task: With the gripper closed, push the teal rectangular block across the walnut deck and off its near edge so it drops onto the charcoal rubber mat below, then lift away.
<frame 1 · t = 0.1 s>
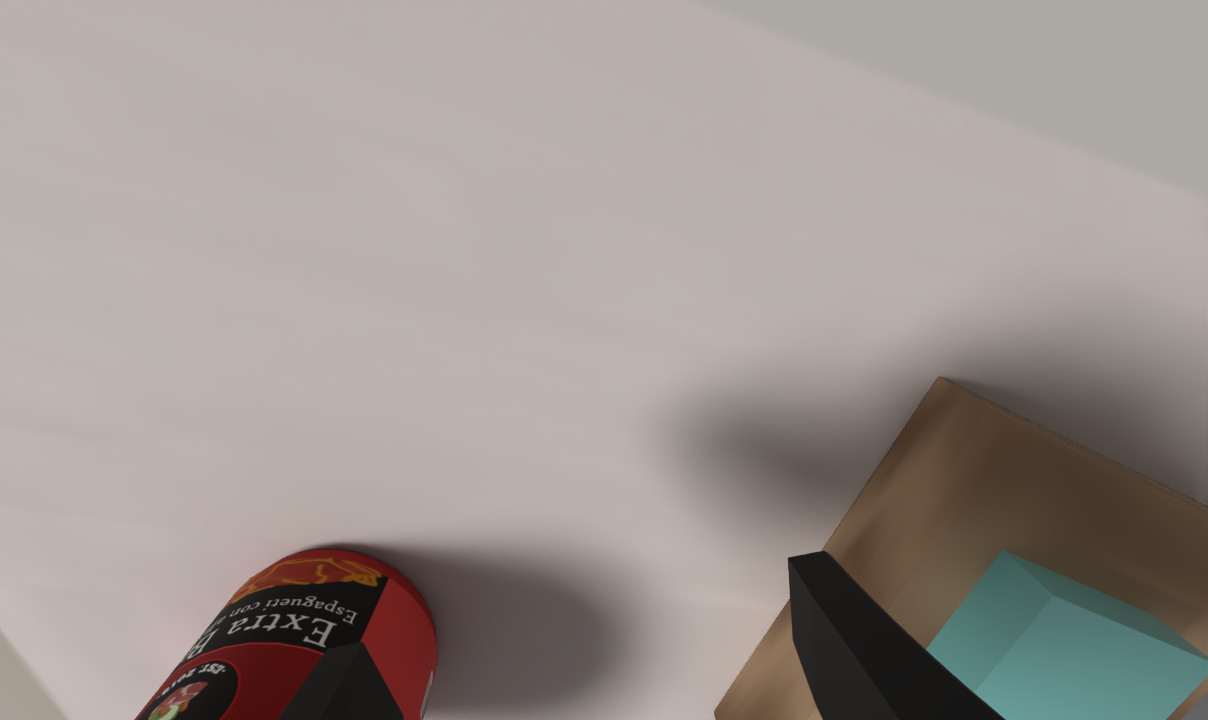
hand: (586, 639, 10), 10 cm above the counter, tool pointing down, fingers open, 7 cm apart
mat: (1169, 678, 25), on the counter
deck: (944, 611, 23), on the counter
canned food: (342, 628, 23), on the counter
teal rectangular block: (992, 689, 19), point 4 cm above the counter, touching deck
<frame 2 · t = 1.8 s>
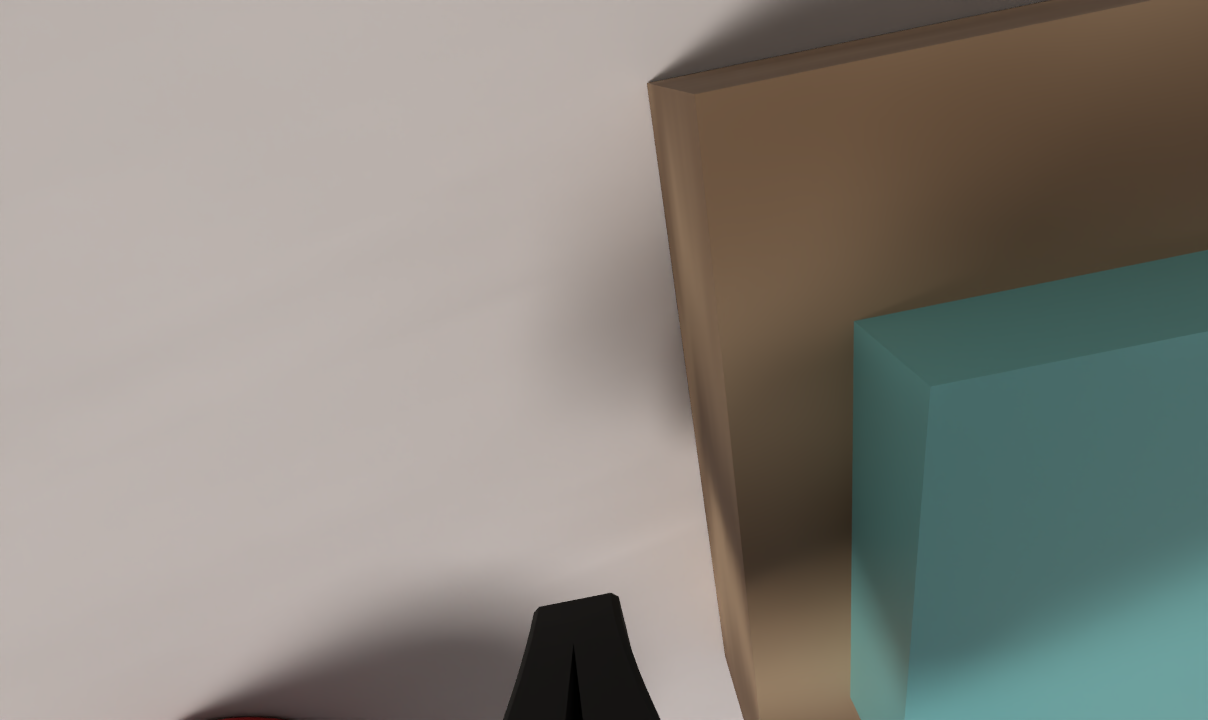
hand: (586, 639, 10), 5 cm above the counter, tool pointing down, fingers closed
deck: (940, 392, 14), on the counter
teal rectangular block: (1014, 512, 11), point 4 cm above the counter, touching deck
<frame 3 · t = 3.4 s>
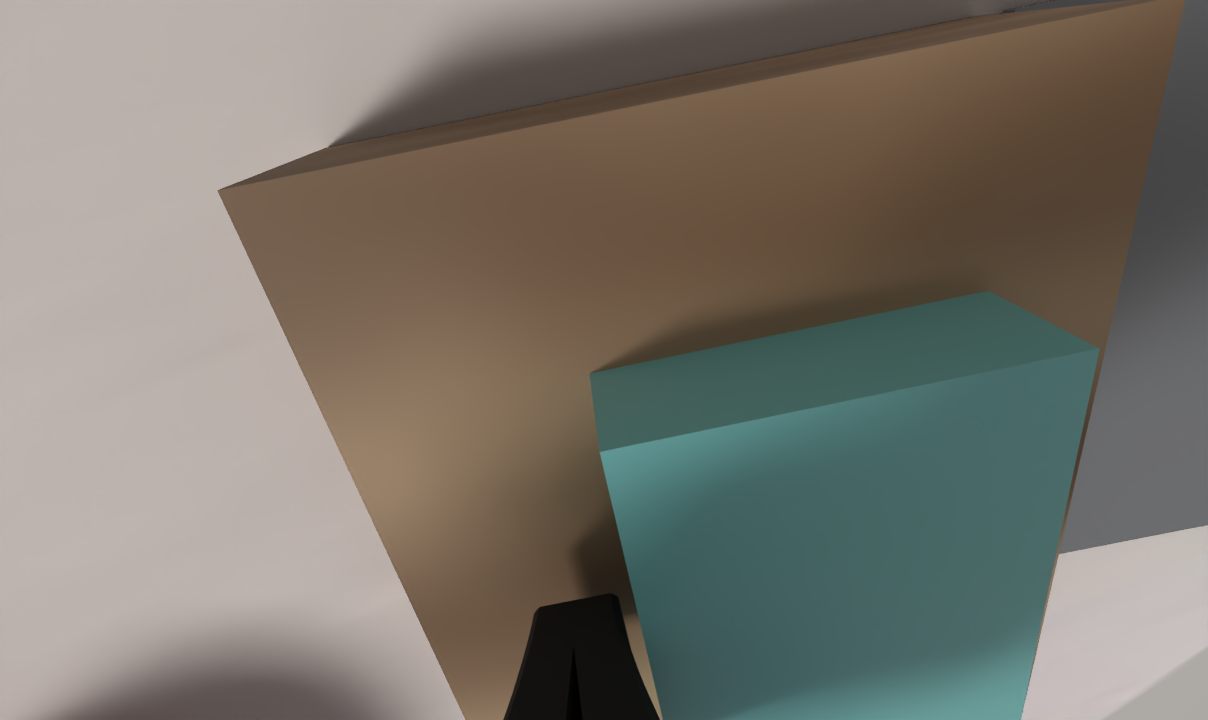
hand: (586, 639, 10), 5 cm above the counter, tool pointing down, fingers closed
mat: (1156, 314, 14), on the counter
deck: (697, 441, 14), on the counter
teal rectangular block: (799, 553, 11), point 4 cm above the counter, touching deck
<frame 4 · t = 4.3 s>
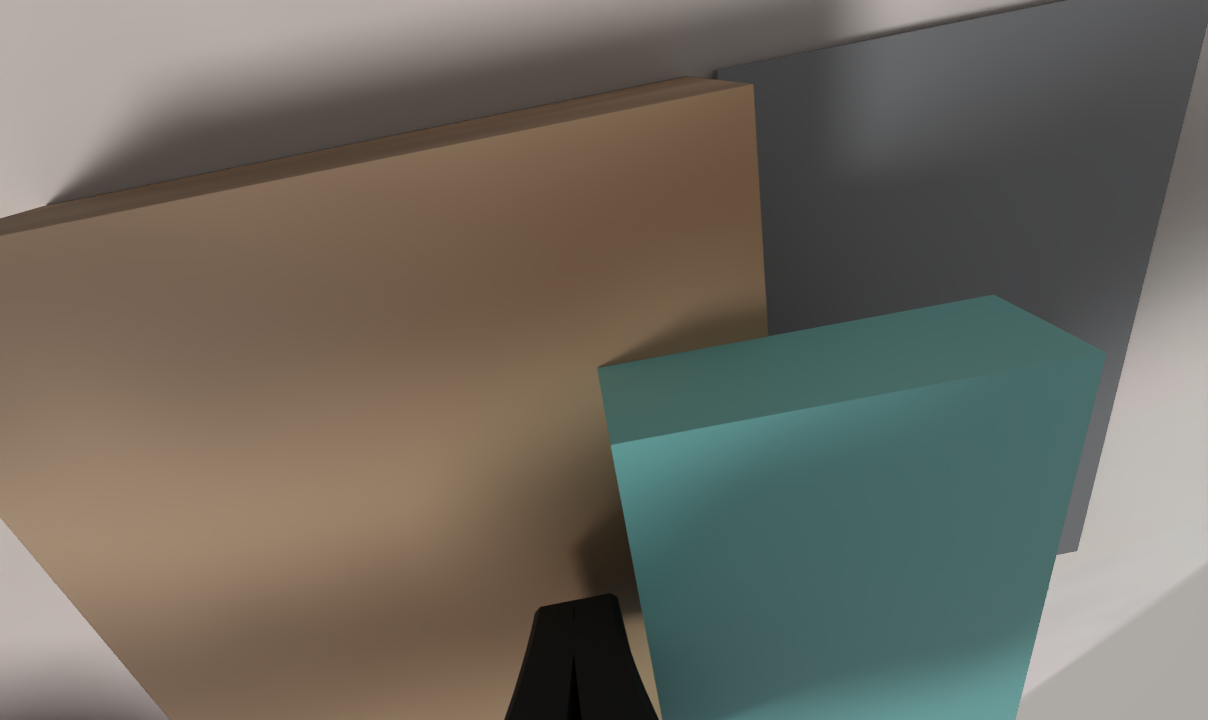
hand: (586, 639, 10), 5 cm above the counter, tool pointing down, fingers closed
mat: (930, 359, 14), on the counter
deck: (481, 484, 15), on the counter
teal rectangular block: (799, 553, 11), point 4 cm above the counter, touching deck
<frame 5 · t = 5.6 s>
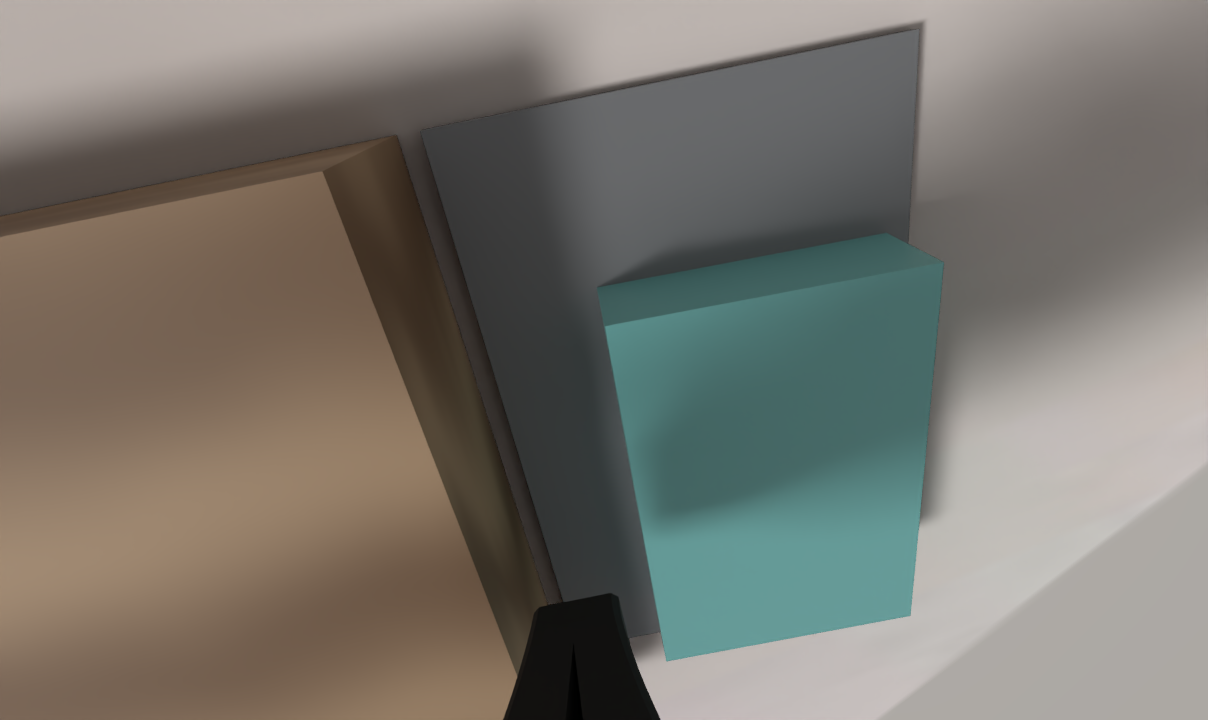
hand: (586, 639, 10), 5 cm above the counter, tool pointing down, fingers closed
mat: (705, 404, 14), on the counter
deck: (266, 527, 15), on the counter
teal rectangular block: (782, 494, 12), point 2 cm above the counter, tilted 180°, touching mat
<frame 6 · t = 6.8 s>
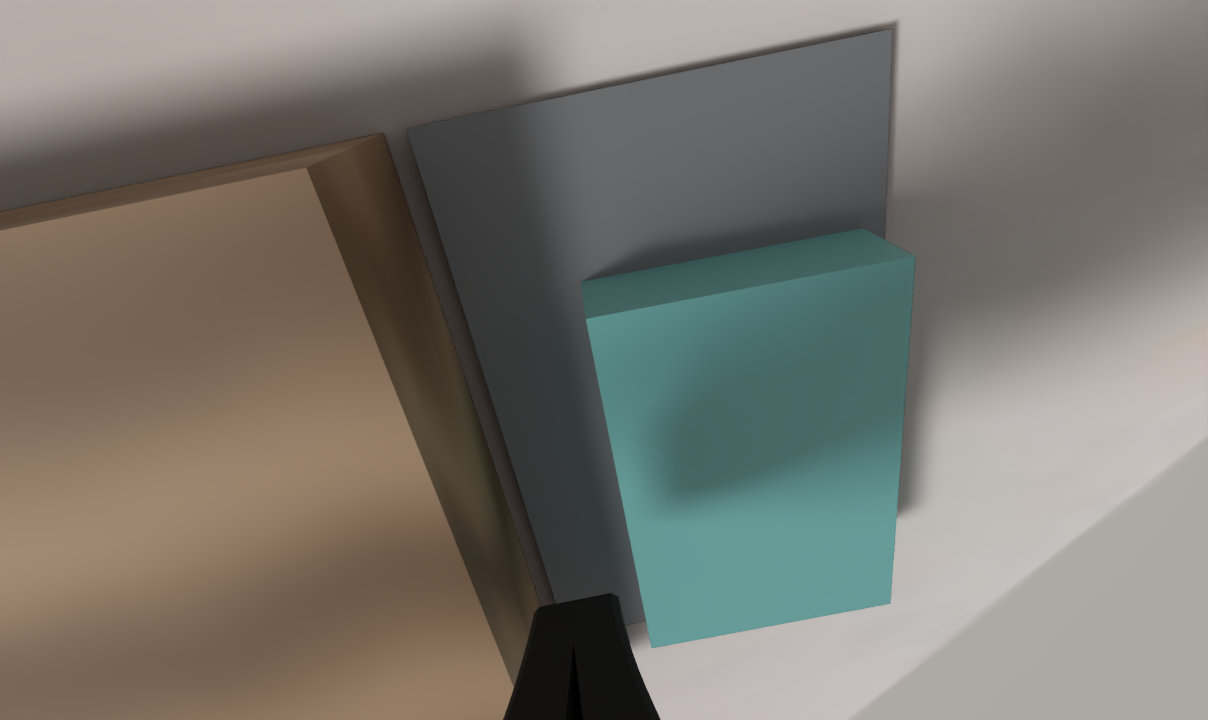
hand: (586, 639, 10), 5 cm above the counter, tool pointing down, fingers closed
mat: (689, 396, 14), on the counter
deck: (259, 517, 15), on the counter
teal rectangular block: (762, 483, 13), point 2 cm above the counter, tilted 180°, touching mat
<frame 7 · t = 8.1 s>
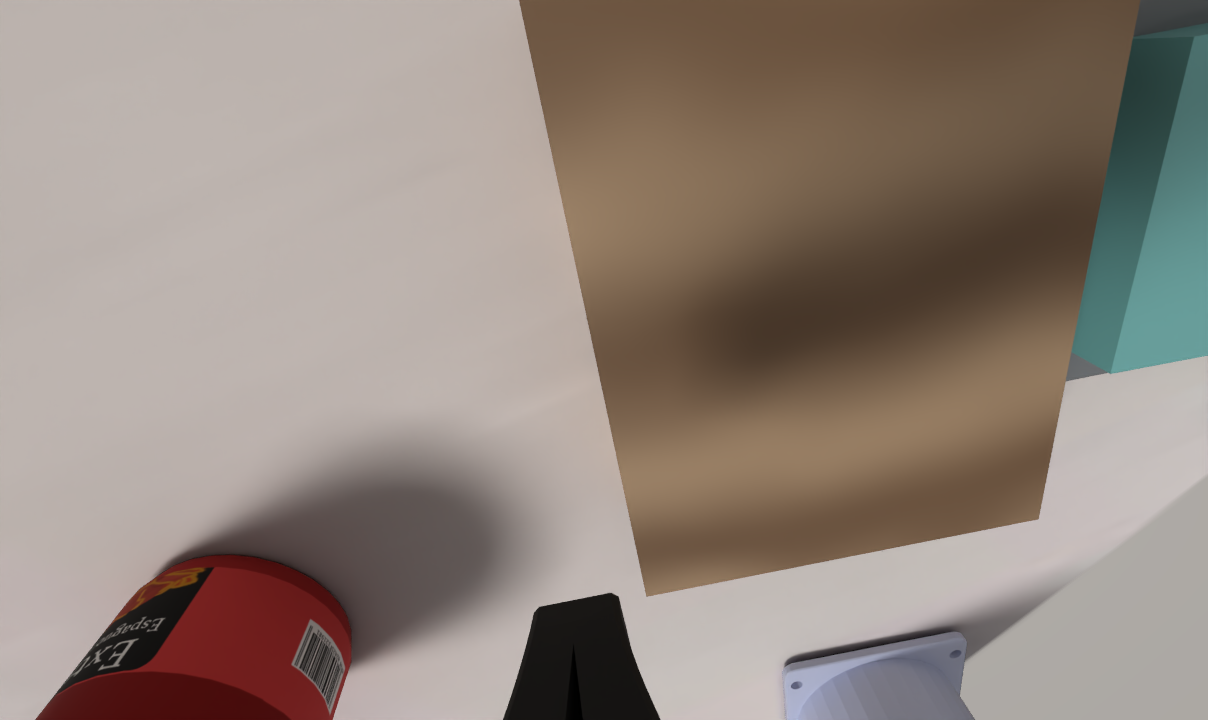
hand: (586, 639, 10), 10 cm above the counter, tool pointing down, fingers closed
mat: (1153, 159, 17), on the counter
deck: (783, 266, 18), on the counter
canned food: (253, 620, 23), on the counter
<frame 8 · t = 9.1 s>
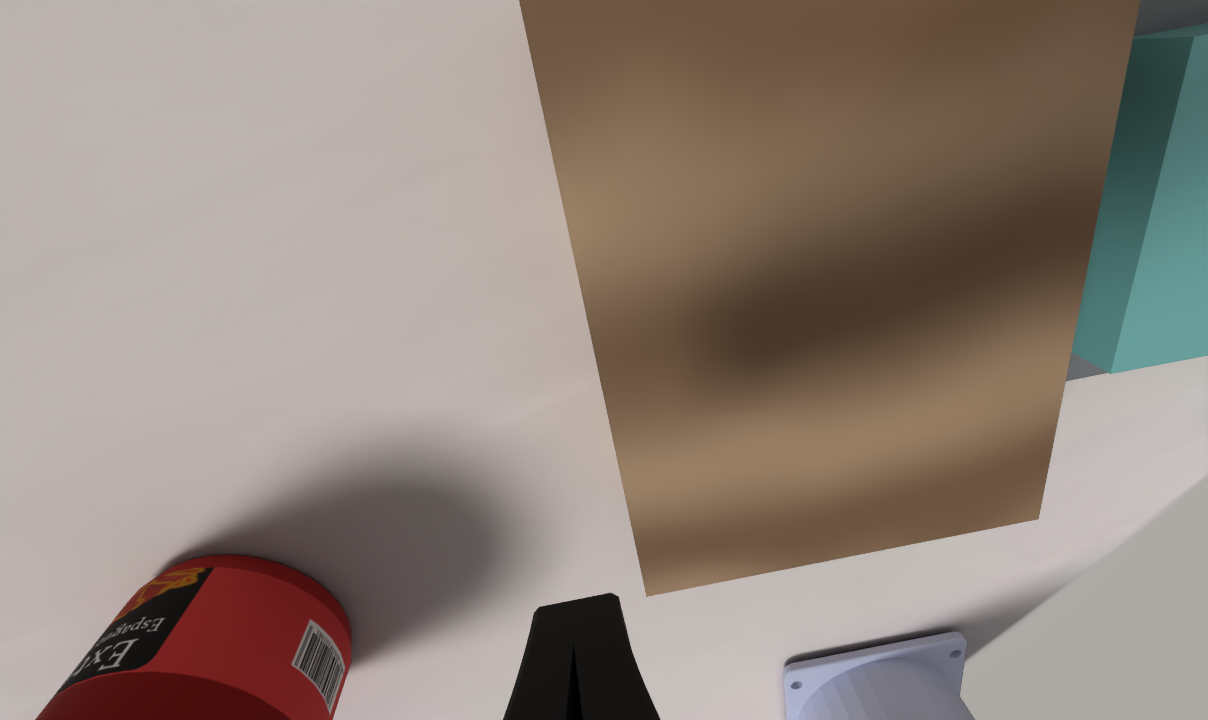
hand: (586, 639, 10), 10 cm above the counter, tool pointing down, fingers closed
mat: (1153, 159, 17), on the counter
deck: (783, 266, 18), on the counter
canned food: (253, 620, 23), on the counter
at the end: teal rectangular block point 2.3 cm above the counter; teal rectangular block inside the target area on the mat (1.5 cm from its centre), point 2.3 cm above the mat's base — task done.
